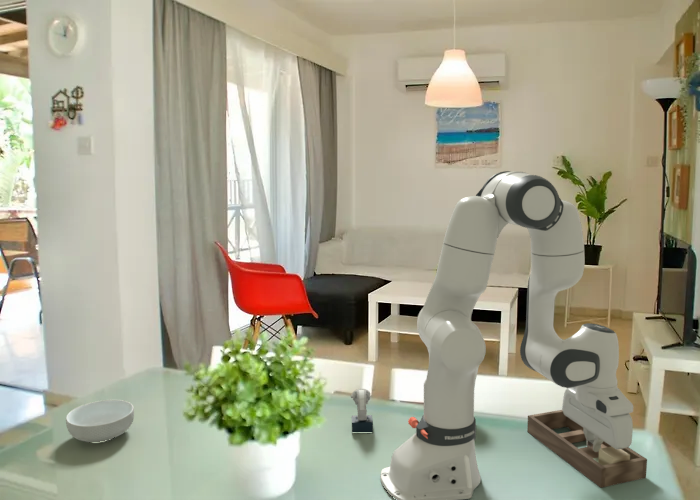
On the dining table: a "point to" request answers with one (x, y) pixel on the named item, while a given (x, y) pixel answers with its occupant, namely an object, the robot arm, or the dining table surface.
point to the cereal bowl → (100, 420)
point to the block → (612, 455)
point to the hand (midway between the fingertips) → (593, 448)
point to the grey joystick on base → (361, 412)
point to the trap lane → (584, 450)
